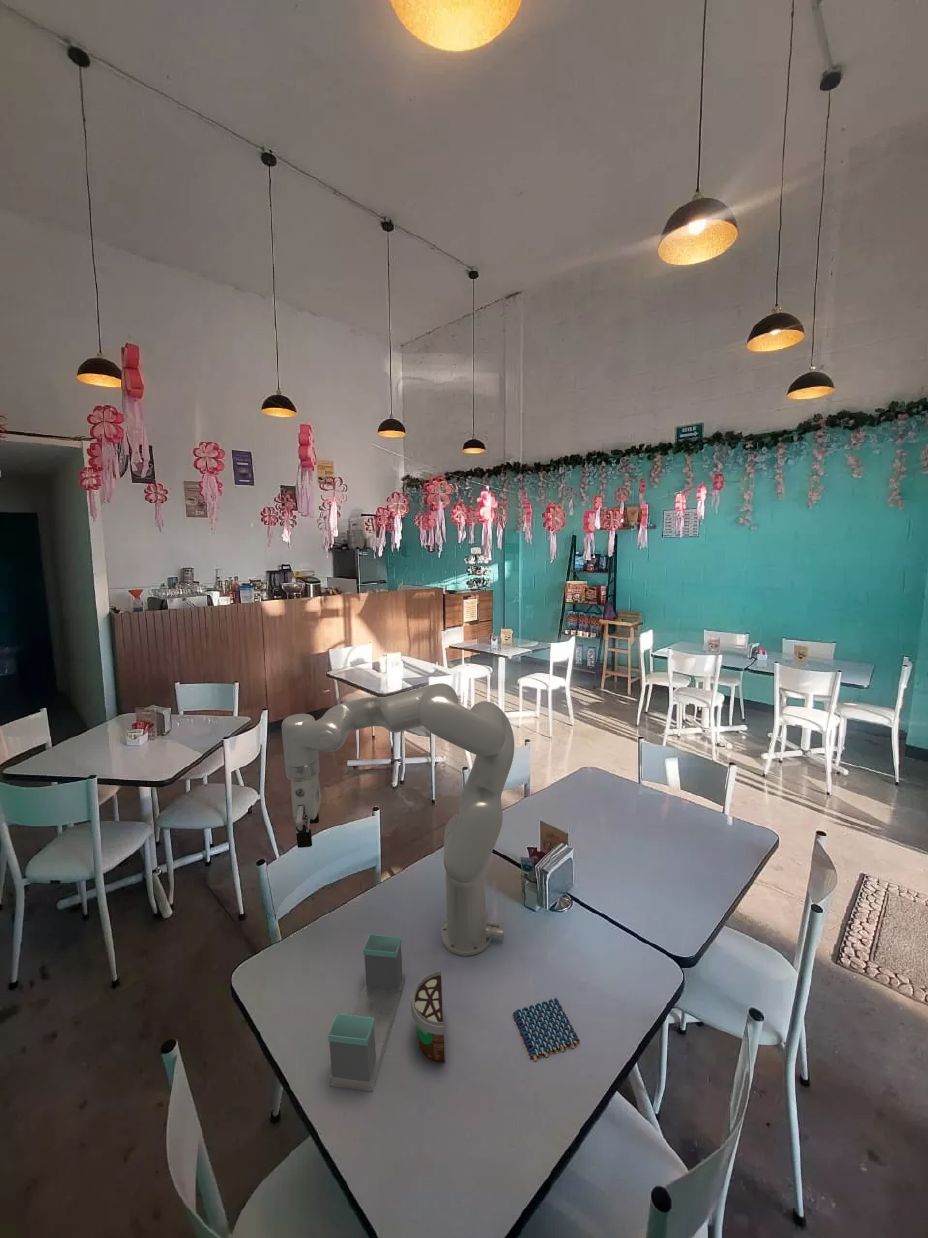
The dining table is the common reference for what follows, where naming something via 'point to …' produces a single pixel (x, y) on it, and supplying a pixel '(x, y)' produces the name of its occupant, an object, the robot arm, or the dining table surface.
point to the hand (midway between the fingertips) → (308, 834)
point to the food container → (429, 1017)
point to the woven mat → (545, 1028)
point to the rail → (383, 1010)
